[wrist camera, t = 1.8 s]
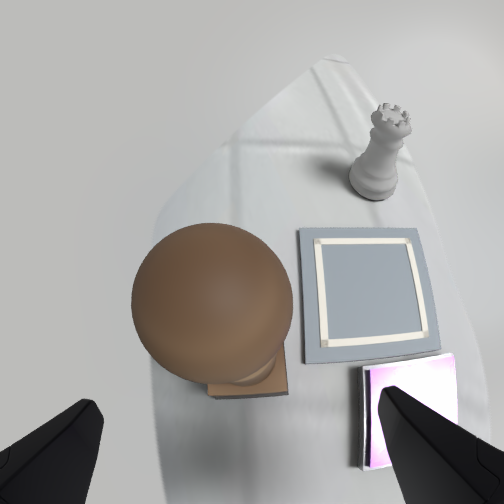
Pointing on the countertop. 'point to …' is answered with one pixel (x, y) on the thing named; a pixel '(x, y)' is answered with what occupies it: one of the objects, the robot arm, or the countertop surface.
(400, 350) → the marked card
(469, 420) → the countertop surface
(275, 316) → the wooden ball finial
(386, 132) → the rook chess piece
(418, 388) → the ink pad
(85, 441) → the robot arm
